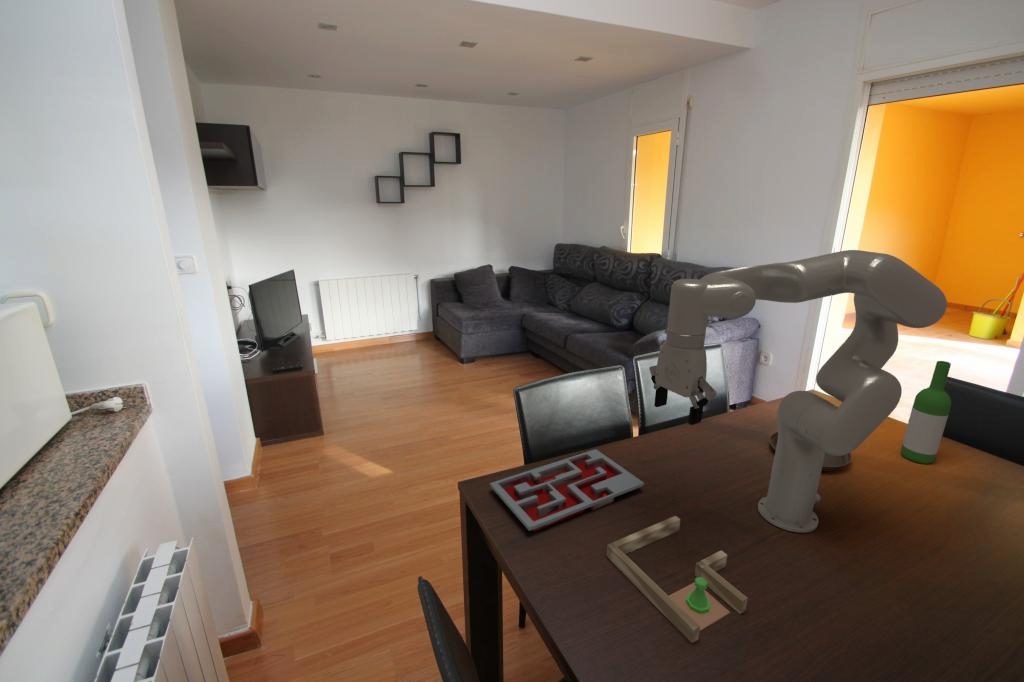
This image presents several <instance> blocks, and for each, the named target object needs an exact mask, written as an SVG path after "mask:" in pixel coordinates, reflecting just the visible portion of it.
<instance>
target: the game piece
mask: <svg viewBox="0 0 1024 682" xmlns="http://www.w3.org/2000/svg"><path fill="white" fill-rule="evenodd" d="M694 582H695V584H694V585H695V586H696V588H695V590H694V591H693V592H692V593H688V596H687V599H686V603H687V605H688V606H689V608H690V609H691V610H693V611H695V612H697V613H700V614H702V613H707V612H709V608H710V601H709V600H708V599H707V597H706V595H705V592H704V590H707V589H708V586H707V583H708V582H707V581H706V580H705V579H703V578H702V577H699V578H697V577H695V578H694Z"/></svg>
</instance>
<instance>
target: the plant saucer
mask: <svg viewBox="0 0 1024 682" xmlns="http://www.w3.org/2000/svg"><path fill="white" fill-rule="evenodd" d="M768 440H769V444H770V445H771V447H772V449H773V451H774V452H776V446H777V440H778V431H776V432H774V433H772V434H771V435H770V437H769V439H768ZM852 459H853V457H852V454H851V452H850V453H848V454H846V455H842V456H832V455H828V454H826V453H825V457H824V463H823V467H822V471H821V472H830V471H835V470H839V469H841V468H843V467H845V466H847V465H848V464H849V463H851V461H852Z"/></svg>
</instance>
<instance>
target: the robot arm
mask: <svg viewBox="0 0 1024 682" xmlns="http://www.w3.org/2000/svg"><path fill="white" fill-rule="evenodd" d="M847 293H848V294H853V305H854V310H855V323H854V327H853V330H852V331H851V333H850V335H849V336H848V337H847V338H846V339H845V341H844V342H843V343H842V344H841V345H840V346H839V347H838V348H837V349H836V351H835V352H834V353H833V354H832V355H831V356H830V357H829V358H828V359H827V361H825V363H824V364H823V365H822V366H821V367H820V369H819V370H818V371H817V374H816V376H815V381H816V384H817V386H818V387H819V388H820V390H822V391H823V392H824V393H826V394H827V395H829V396H831V397H833V398H835V399H836V400H837V401H840V402H841V404H840V405H839V406H837V405H836V404H834V403H832V402H831V401H828V400H827V399H825V398H823V397H822V396H820V395H818V394H815V393H813V392H810V391H806V390H795V391H792V392H790V393H789V392H788V393H787V394H786V395H785V396H784V397H783V398H782V399H781V401H780V403H779V406H778V410H777V428H778V429H777V432H778V440H777V446H776V452H775V451H774V452H775V453H774V458H773V463H772V469H771V473H770V477H769V478H770V479H769V484H768V489H767V495H766V496H764V497H762V498H761V499H760V500H759V501H758V504H757V510H758V512H759V514H760V516H762V518H764V520H766V521H767V522H769V523H770V524H772V525H774V526H775V527H778V528H780V529H782V530H784V531H788V532H794V533H802V534H803V533H811V532H813V531H815V530H816V529H817V528H818V524H819V518H818V515H817V514H816V512H815V511H814V506H815V504H816V503H818V502H820V501H821V499H822V498H821V495H820V494H819V493H818V488H819V484H820V479H821V476H822V472H823V471H822V467H823V463H824V457H825V453H826V454H828V455H832V456H842V455H846V454H848V453H850V454H851V452H853V451H855V450H856V449H857V448H859V446H861V445H862V444H863V442H865V441H866V440H867V439H868V438H869V437H870V436H871V434H872V433H874V431H876V429H877V428H878V427H879V426H881V424H883V422H884V421H885V420H886V419H887V418H889V416H890V415H891V414H892V413H893V412H894V410H895V409H896V408H897V406H898V405H899V403H900V400H901V397H902V393H903V392H902V385H901V382H900V381H899V379H898V378H897V377H896V376H895V375H894V374H892V373H891V372H889V371H887V370H885V369H883V367H884V366H885V365H886V364H887V363H888V362H889V360H890V359H891V357H893V355H894V354H895V352H896V350H897V348H898V344H899V328H898V325H900V326H903V327H907V328H912V329H913V328H914V329H924V328H928V327H931V326H933V325H935V324H936V323H938V322H939V321H941V319H942V318H943V317H944V315H945V313H946V311H947V306H948V301H947V298H946V295H945V293H944V292H943V290H942V289H941V288H939V286H937V285H936V284H934V283H933V282H932V281H931V280H929V279H928V278H927V277H926V276H924V275H923V274H921V273H920V272H919V271H917V270H916V269H915V268H913V267H912V266H911V265H909V264H908V263H906V262H905V261H903V259H900V258H899V257H897V256H894V255H892V254H889V253H888V254H887V253H883V252H876V251H875V252H874V251H866V250H861V249H860V250H859V249H847V250H842V251H841V250H840V251H836V252H835V251H834V252H831V253H827V254H823V255H817V256H813V257H808V258H803V259H799V260H794V261H787V262H776V263H775V262H773V263H768V264H758V265H750V266H741V267H734V268H728V269H724V270H719V271H714V272H711V273H708V274H706V275H704V276H702V277H701V278H700V279H696V278H681V279H677V280H675V281H673V283H672V284H671V288H670V297H669V307H668V317H667V327H666V328H665V329H664V335H666V337H665V340H664V341H663V342H662V344H661V347H660V350H659V353H658V357H657V362H656V365H652V366H649V373H650V376H651V377H650V378H651V381H652V383H653V389H654V390H655V393H654V394H655V395H654V405H653V406H654V407H655V408H660V407H664V406H666V405H667V403H668V392H669V391H670V392H672V393H674V394H676V395H678V396H681V397H683V398H688V399H689V400H690V403H691V405H692V406H690V407H689V413H688V425H690V426H693V425H696V424H701V423H702V420H703V414H704V413H703V412H704V407H706V406H707V405H709V404H711V403H712V402H713V400H714V399H715V397H716V396H717V394H718V393H717V391H716V390H715V389H714V388H713V387H712V385H710V384H709V383H708V381H707V371H708V370H707V368H708V367H707V366H708V362H707V359H708V358H707V349H706V348H705V342H706V341H705V340H706V332H707V325H708V324H707V323H708V317H713V318H714V317H716V318H723V319H738V318H742V317H745V316H747V315H748V314H749V313H750V312H751V311H753V309H754V307H756V306H755V305H756V302H757V300H759V301H760V300H761V301H768V302H775V303H789V304H791V303H792V304H797V303H804V302H808V301H813V300H817V299H821V298H825V297H831V296H836V295H841V294H847ZM703 393H704V394H705V395H704V394H703Z"/></svg>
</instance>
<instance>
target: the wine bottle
mask: <svg viewBox="0 0 1024 682" xmlns="http://www.w3.org/2000/svg"><path fill="white" fill-rule="evenodd" d="M951 365H952V363H951V362H949V361H945V360H937V361H936V364H935V367H934V371H933V374H932V378H931V381H930V384H929V386H928V387H926V388H923V389H921V390H920V391H919V392H918V393H917V394H916V395H915V398H914V401H913V404H912V408H911V410H910V414H909V418H908V422H907V426H906V430H905V432H904V435H903V440H902V444H901V447H900V453H901V456H903V457H904V458H905V459H906V460H910V461H911V462H914V463H917V464H925V465H926V464H932V463H933V462H934V461H935V460H936V457H937V454H938V452H939V451H938V450H939V447H940V444H941V442H942V438H943V434H944V431H945V428H946V425H947V420H948V418H949V415H950V410H951V407H952V399H951V397H950V395H949V393H947V392H946V391H945V386H946V384H947V381H948V380H947V379H948V375H949V372H950V368H951Z"/></svg>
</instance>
